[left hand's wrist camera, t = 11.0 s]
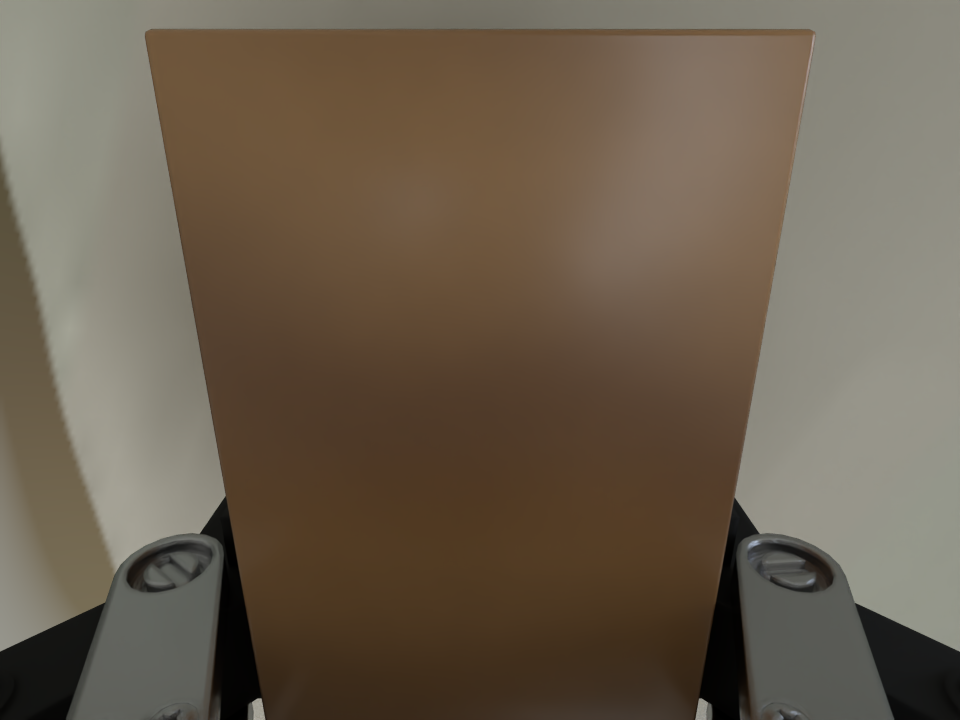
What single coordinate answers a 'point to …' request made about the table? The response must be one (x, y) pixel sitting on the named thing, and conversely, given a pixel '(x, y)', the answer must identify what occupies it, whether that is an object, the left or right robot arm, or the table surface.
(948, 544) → the table surface
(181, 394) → the table surface
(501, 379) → the bar
